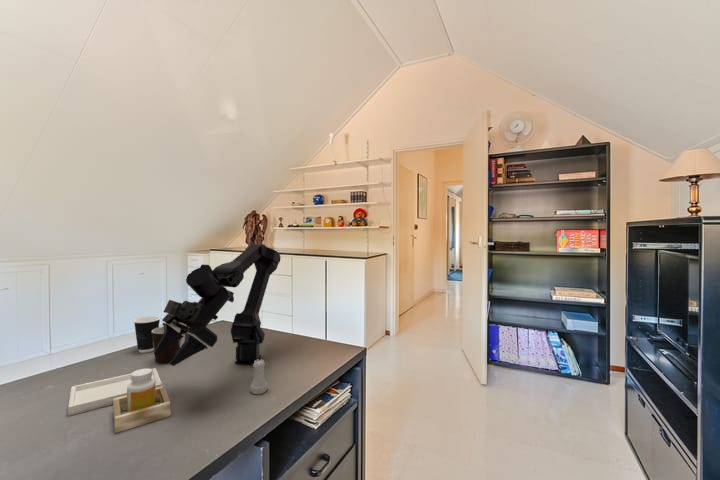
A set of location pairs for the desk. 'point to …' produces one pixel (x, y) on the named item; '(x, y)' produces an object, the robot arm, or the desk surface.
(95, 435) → the desk surface
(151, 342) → the dixie cup
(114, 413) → the holder sleeve
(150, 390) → the supplement bottle
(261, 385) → the rook chess piece
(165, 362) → the brown paper tapered cylinder
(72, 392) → the tray
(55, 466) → the desk surface
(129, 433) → the desk surface
